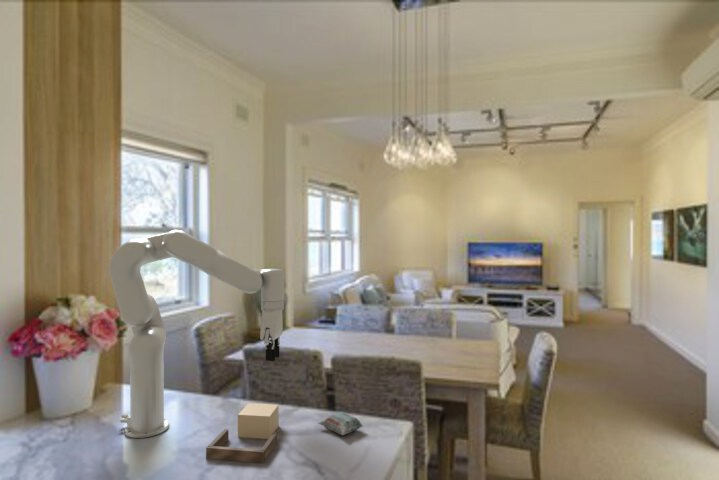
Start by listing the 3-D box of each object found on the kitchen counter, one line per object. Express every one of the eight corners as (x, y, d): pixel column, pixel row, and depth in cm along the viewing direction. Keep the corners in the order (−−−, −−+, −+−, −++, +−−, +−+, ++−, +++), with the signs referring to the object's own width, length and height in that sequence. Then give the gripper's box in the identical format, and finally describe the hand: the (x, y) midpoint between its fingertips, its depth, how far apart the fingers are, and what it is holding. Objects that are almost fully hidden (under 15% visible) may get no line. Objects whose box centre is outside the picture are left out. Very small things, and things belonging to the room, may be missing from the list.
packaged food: (343, 441, 132) (343, 425, 132) (317, 429, 140) (317, 413, 140) (363, 432, 138) (363, 417, 138) (337, 421, 146) (338, 406, 146)
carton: (237, 437, 134) (237, 414, 134) (248, 424, 143) (248, 403, 143) (269, 439, 133) (269, 416, 133) (278, 426, 142) (278, 404, 142)
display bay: (206, 458, 121) (206, 447, 121) (224, 439, 133) (224, 429, 133) (263, 463, 119) (263, 452, 119) (277, 442, 131) (277, 432, 130)
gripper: (270, 301, 159) (270, 351, 159) (252, 309, 143) (252, 365, 143) (290, 301, 158) (290, 352, 158) (275, 309, 142) (275, 366, 142)
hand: (272, 358), depth 151 cm, fingers open, 3 cm apart
